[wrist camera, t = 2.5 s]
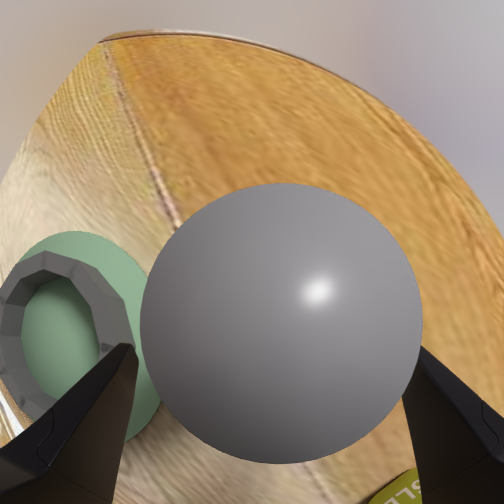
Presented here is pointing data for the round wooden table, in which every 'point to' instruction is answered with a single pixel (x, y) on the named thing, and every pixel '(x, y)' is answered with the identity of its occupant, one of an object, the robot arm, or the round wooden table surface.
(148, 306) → the white gray-capped cylinder
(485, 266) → the round wooden table surface
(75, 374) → the green round disc
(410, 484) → the dumbbell
